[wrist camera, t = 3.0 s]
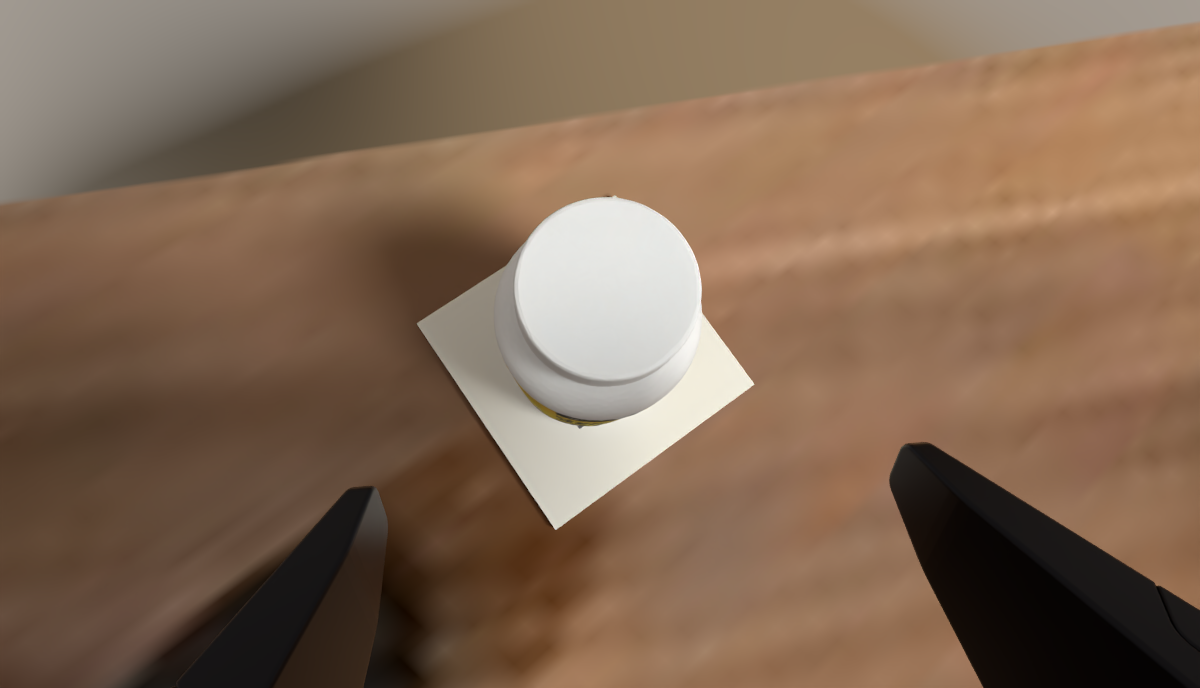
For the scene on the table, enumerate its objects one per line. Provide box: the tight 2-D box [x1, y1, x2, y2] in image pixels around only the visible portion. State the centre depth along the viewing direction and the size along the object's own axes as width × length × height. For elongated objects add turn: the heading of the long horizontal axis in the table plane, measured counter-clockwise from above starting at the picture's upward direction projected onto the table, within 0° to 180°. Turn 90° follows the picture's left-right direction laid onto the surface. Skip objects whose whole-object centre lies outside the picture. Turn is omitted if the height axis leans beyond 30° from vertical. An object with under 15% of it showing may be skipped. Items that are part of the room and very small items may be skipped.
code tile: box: [416, 195, 754, 530], centre depth 22 cm, size 9×9×1 cm
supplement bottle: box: [494, 197, 702, 426], centre depth 17 cm, size 5×5×10 cm
